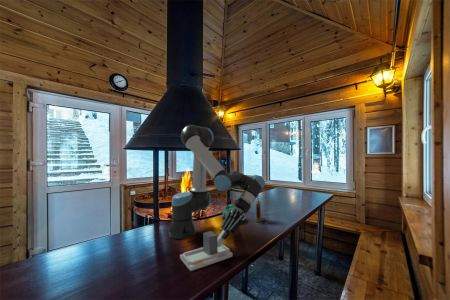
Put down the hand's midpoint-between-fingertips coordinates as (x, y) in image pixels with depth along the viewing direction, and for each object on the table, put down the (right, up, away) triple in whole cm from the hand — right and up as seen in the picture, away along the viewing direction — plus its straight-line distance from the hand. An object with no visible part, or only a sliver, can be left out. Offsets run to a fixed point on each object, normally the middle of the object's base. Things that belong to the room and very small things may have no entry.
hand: (217, 244), depth 90 cm
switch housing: (-5, -5, -2) cm, 7 cm away
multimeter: (+30, -6, +46) cm, 55 cm away
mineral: (+8, -7, +50) cm, 51 cm away
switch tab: (-3, -3, -1) cm, 4 cm away
